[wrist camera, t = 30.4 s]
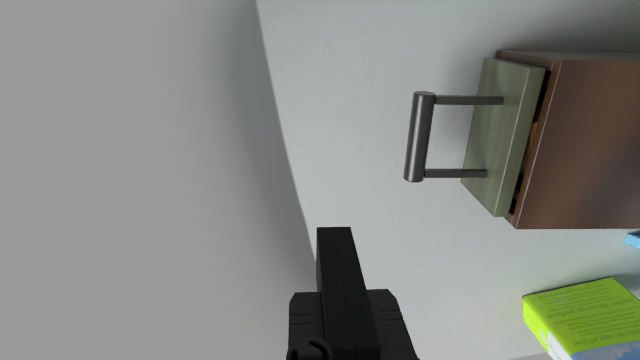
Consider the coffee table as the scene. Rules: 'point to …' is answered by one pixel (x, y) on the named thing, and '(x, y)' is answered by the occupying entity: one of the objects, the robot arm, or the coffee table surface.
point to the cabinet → (582, 143)
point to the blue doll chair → (632, 240)
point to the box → (586, 321)
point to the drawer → (484, 132)
